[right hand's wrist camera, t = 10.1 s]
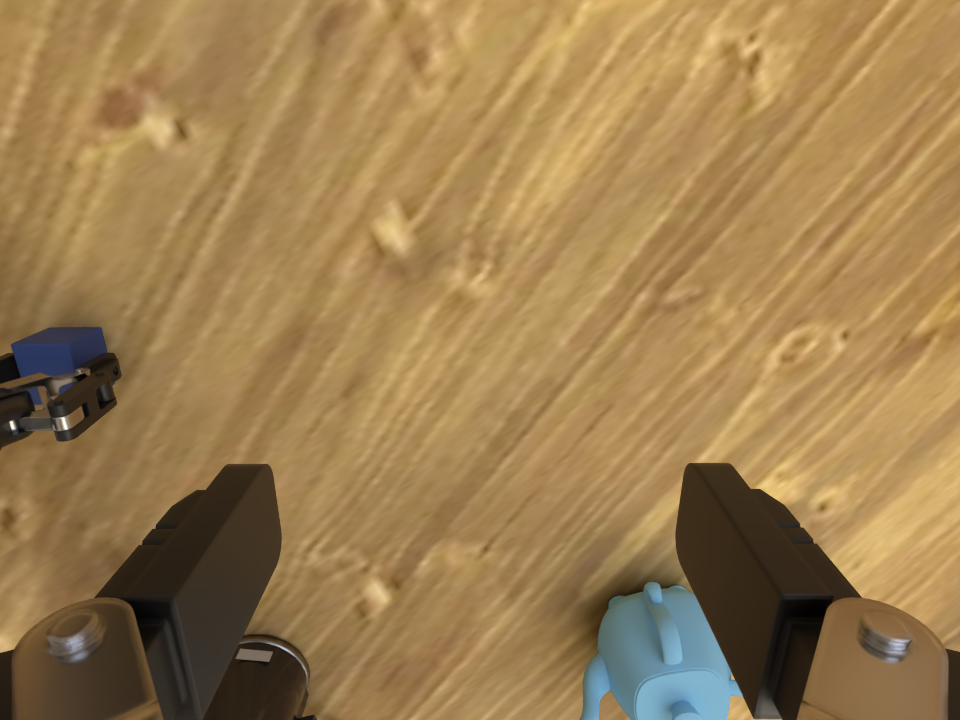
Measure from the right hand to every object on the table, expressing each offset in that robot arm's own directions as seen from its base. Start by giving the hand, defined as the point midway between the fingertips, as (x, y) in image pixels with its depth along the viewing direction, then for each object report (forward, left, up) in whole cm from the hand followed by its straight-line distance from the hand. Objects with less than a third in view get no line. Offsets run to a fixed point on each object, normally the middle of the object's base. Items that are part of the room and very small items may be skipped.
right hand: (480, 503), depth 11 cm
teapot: (+36, -19, -35) cm, 54 cm away
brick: (-19, -28, -35) cm, 49 cm away
